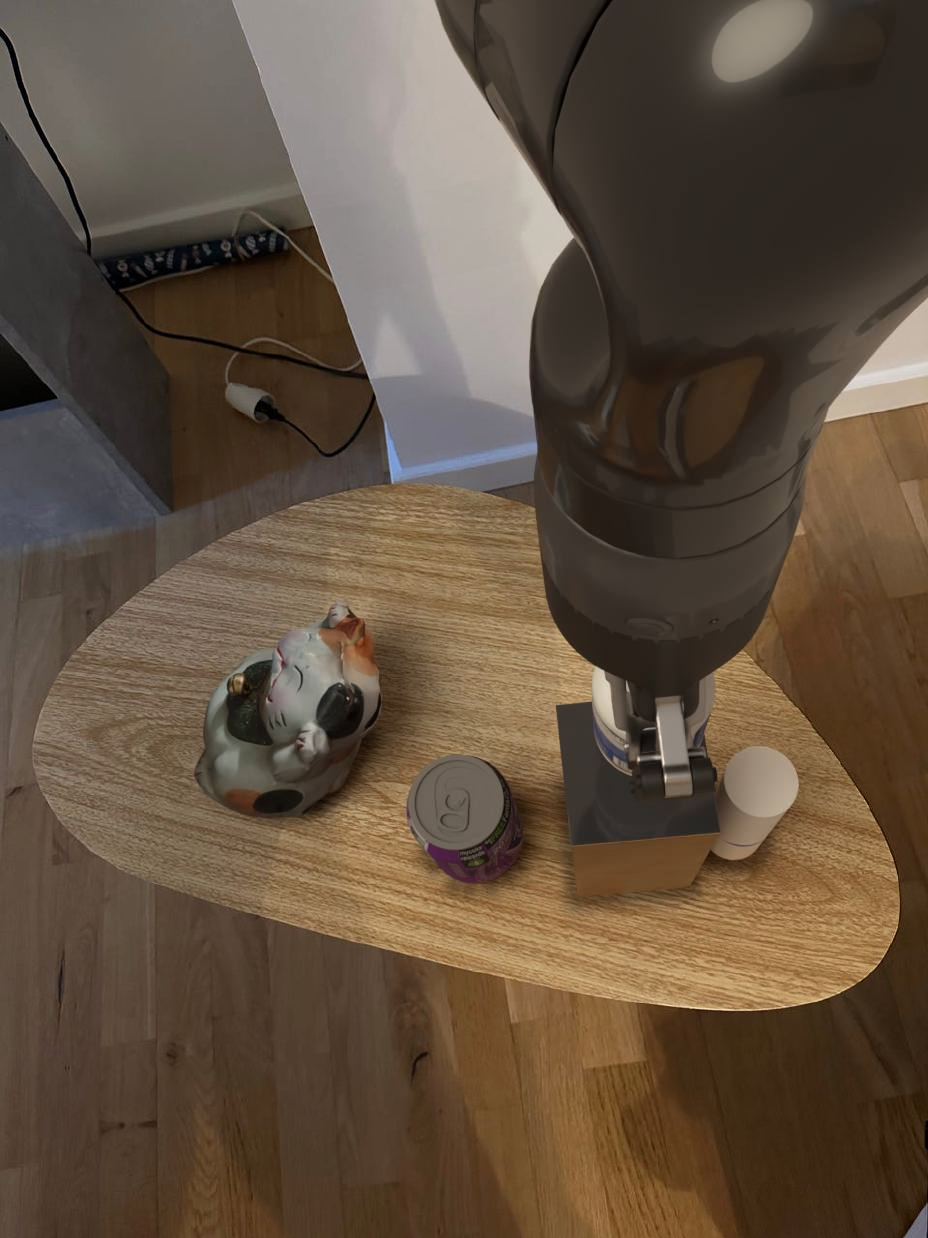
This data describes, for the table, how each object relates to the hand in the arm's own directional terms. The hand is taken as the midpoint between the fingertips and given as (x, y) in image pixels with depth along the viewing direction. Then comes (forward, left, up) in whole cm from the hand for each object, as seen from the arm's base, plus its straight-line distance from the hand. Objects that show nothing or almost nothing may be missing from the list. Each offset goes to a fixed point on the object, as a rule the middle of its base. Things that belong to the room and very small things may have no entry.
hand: (642, 695), depth 47 cm
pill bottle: (0, 0, -6) cm, 6 cm away
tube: (-8, +1, -32) cm, 33 cm away
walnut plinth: (0, 0, -32) cm, 32 cm away
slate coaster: (0, 0, -12) cm, 12 cm away
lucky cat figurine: (+24, -11, -32) cm, 41 cm away
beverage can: (+11, -1, -32) cm, 34 cm away
